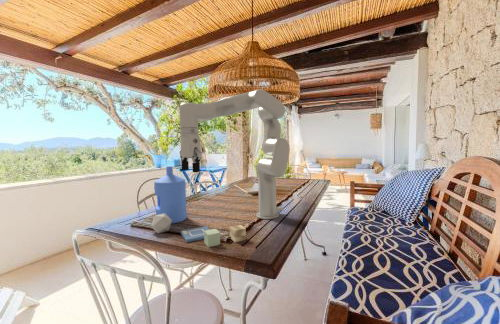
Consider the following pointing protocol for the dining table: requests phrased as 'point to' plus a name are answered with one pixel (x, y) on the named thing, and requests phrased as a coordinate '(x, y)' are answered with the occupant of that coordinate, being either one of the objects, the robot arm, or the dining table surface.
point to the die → (161, 223)
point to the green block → (212, 237)
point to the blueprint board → (194, 234)
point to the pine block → (238, 233)
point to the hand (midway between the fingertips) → (190, 171)
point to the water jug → (171, 196)
